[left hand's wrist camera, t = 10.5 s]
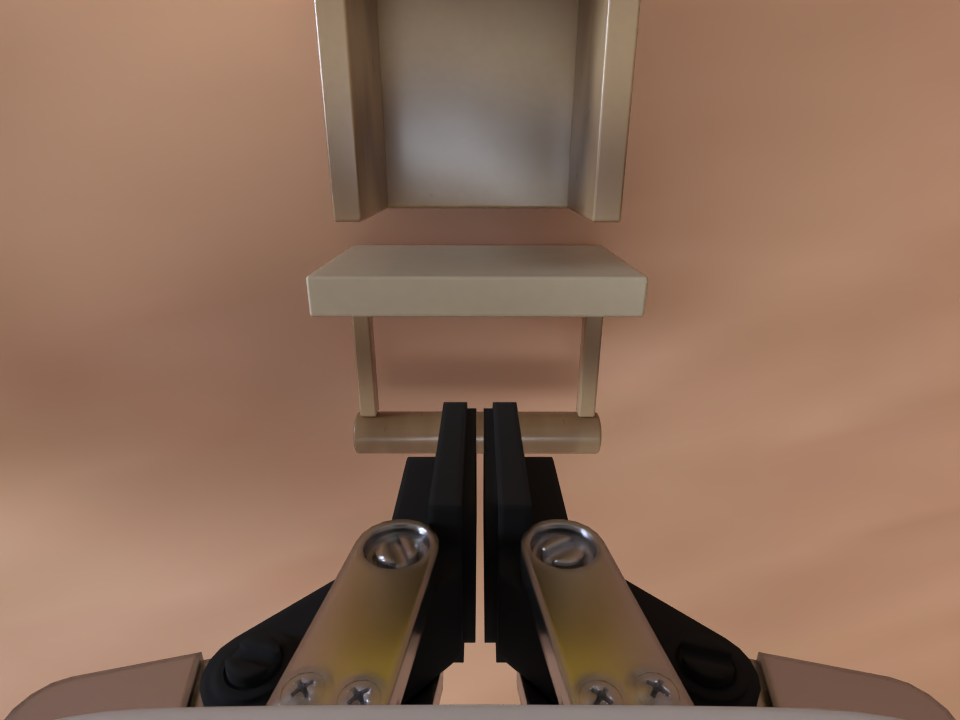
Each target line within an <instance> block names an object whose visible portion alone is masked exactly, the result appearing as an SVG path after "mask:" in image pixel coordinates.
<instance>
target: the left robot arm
mask: <svg viewBox="0 0 960 720" xmlns="http://www.w3.org/2000/svg"><path fill="white" fill-rule="evenodd" d="M476 522H477V492H476V408H467V402H444V404H443V410H442V417H441V423H440V430H439V437H438V443H437V450H436V457H408V458H407V461H406V465H405V469H404V473H403V477H402V481H401V485H400V490H399V494H398V498H397V502H396V506H395V510H394V514H393V518H392V520H390V521H385V522H382V523H380V524H377V525H375V526H372V527H371V528H369V529H368V530H367V531H365V532H364V533H363V534H362V535H361V536H360V537H359V539H358V540H357V541H356V543H355V545H354V546H353V548H352V550H351V552H350V554H349V555H348V557H347V559H346V561H345V563H344V565H343V566H342V568H341V570H340V572H339V574H338V575H337V577H336V579H335V580H333V581H332V582H330V583H328V584H327V585H325V586H323V587H321V588H320V589H318V590H316V591H315V592H313V593H311V594H309V595H308V596H306V597H304V598H303V599H301V600H299V601H297V602H296V603H294V604H292V605H291V606H289V607H287V608H285V609H284V610H282V611H280V612H279V613H277V614H275V615H274V616H272V617H270V618H268V619H267V620H265V621H263V622H262V623H260V624H258V625H256V626H255V627H253V628H251V629H250V630H248V631H246V632H244V633H243V634H241V635H239V636H238V637H236V638H234V639H233V640H231V641H230V642H229V643H227V644H226V645H225V646H223V647H222V648H220V650H219V651H218V652H217V653H216V654H215V655H214V656H213V657H212V658H211V659H207V660H203V656H202V652H199V653H194V654H189V655H183V656H178V657H173V658H168V659H162V660H157V661H152V662H147V663H141V664H136V665H131V666H126V667H120V668H115V669H110V670H105V671H99V672H94V673H89V674H84V675H78V676H73V677H69V678H66V679H63V680H60V681H57V682H53V683H51V684H49V685H47V686H45V687H44V688H42V689H40V690H38V691H36V692H35V693H33V694H31V695H30V696H29V697H27V698H26V699H25V700H24V701H22V702H21V703H20V704H19V705H17V706H16V707H15V708H14V709H13V710H12V711H11V712H10V713H9V715H8V716H7V717H6V718H5V720H955V718H954V717H953V716H952V715H951V713H950V712H949V711H948V710H947V709H946V708H945V707H944V706H943V705H941V704H940V703H939V702H938V701H936V700H935V699H934V698H933V697H931V696H930V695H929V694H927V693H925V692H924V691H922V690H920V689H918V688H916V687H915V686H913V685H911V684H909V683H907V682H903V681H900V680H897V679H894V678H891V677H887V676H882V675H876V674H871V673H866V672H861V671H855V670H850V669H845V668H840V667H834V666H829V665H824V664H819V663H813V662H808V661H803V660H798V659H792V658H787V657H782V656H777V655H771V654H766V653H761V652H758V656H757V660H753V659H749V658H748V657H747V656H746V655H745V654H744V653H743V652H742V651H741V650H740V648H738V647H737V646H735V645H734V644H733V643H731V642H730V641H729V640H727V639H726V638H724V637H722V636H721V635H719V634H717V633H716V632H714V631H712V630H710V629H709V628H707V627H705V626H704V625H702V624H700V623H698V622H697V621H695V620H693V619H692V618H690V617H688V616H686V615H685V614H683V613H681V612H680V611H678V610H676V609H675V608H673V607H671V606H669V605H668V604H666V603H664V602H663V601H661V600H659V599H657V598H656V597H654V596H652V595H651V594H649V593H647V592H645V591H644V590H642V589H640V588H639V587H637V586H635V585H633V584H632V583H630V582H628V581H627V580H625V579H624V577H623V575H622V574H621V572H620V570H619V568H618V566H617V565H616V563H615V561H614V559H613V557H612V555H611V554H610V552H609V550H608V548H607V546H606V545H605V543H604V541H603V540H602V539H601V537H600V536H599V535H598V534H597V533H596V532H595V531H593V530H592V529H591V528H589V527H588V526H585V525H583V524H580V523H578V522H575V521H570V520H568V518H567V514H566V510H565V506H564V502H563V498H562V494H561V490H560V485H559V481H558V477H557V473H556V469H555V465H554V461H553V458H552V457H524V450H523V443H522V437H521V430H520V423H519V417H518V410H517V404H516V402H493V408H484V492H483V523H484V626H485V643H496V662H507V663H508V664H509V665H510V666H511V667H512V668H514V669H515V670H516V671H517V690H518V694H519V698H520V703H521V705H439V703H440V698H441V694H442V690H443V671H444V670H445V669H446V668H447V667H449V666H450V665H451V664H452V663H453V662H464V643H475V626H476Z"/></svg>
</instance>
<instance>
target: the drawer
mask: <svg viewBox="0 0 960 720" xmlns="http://www.w3.org/2000/svg"><path fill="white" fill-rule="evenodd" d="M314 8H315V19H316V30H317V41H318V52H319V63H320V73H321V84H322V95H323V106H324V117H325V128H326V139H327V150H328V161H329V172H330V183H331V194H332V205H333V216H334V220H335V221H336V222H360V221H362V220H364V219H366V218H368V217H370V216H372V215H374V214H376V213H378V212H380V211H382V210H384V209H386V208H569V209H571V210H572V211H574V212H576V213H578V214H580V215H582V216H584V217H585V218H587V219H589V220H591V221H593V222H619V221H620V220H621V209H622V198H623V187H624V176H625V165H626V154H627V143H628V132H629V121H630V110H631V99H632V88H633V77H634V66H635V55H636V44H637V33H638V22H639V11H640V0H314ZM306 282H307V291H308V300H309V308H310V314H311V316H314V317H352V323H353V335H354V347H355V359H356V370H357V382H358V394H359V406H360V412H358V413H357V415H356V418H355V423H354V446H355V450H356V452H357V453H436V450H437V443H438V437H439V430H440V423H441V417H442V412H378V410H379V402H378V388H377V374H376V360H375V346H374V332H373V318H372V317H583V319H582V334H581V348H580V362H579V376H578V390H577V404H576V410H577V412H518V417H519V423H520V430H521V437H522V443H523V450H524V454H596V453H598V452H599V450H600V446H601V423H600V419H599V416H598V414H597V413H596V412H595V406H596V394H597V382H598V371H599V359H600V347H601V335H602V323H603V317H642V316H643V315H644V311H645V302H646V293H647V284H648V278H647V277H646V276H645V275H643V274H642V273H641V272H639V271H638V270H636V269H635V268H633V267H632V266H630V265H629V264H628V263H626V262H625V261H623V260H622V259H620V258H619V257H618V256H616V255H615V254H613V253H612V252H610V251H609V250H607V249H606V248H605V247H603V246H572V245H354V246H352V247H350V248H349V249H348V250H346V251H345V252H343V253H342V254H340V255H339V256H337V257H336V258H334V259H333V260H331V261H330V262H328V263H327V264H325V265H324V266H322V267H321V268H319V269H318V270H316V271H315V272H313V273H312V274H310V275H309V276H307V278H306ZM476 454H484V412H476Z"/></svg>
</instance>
